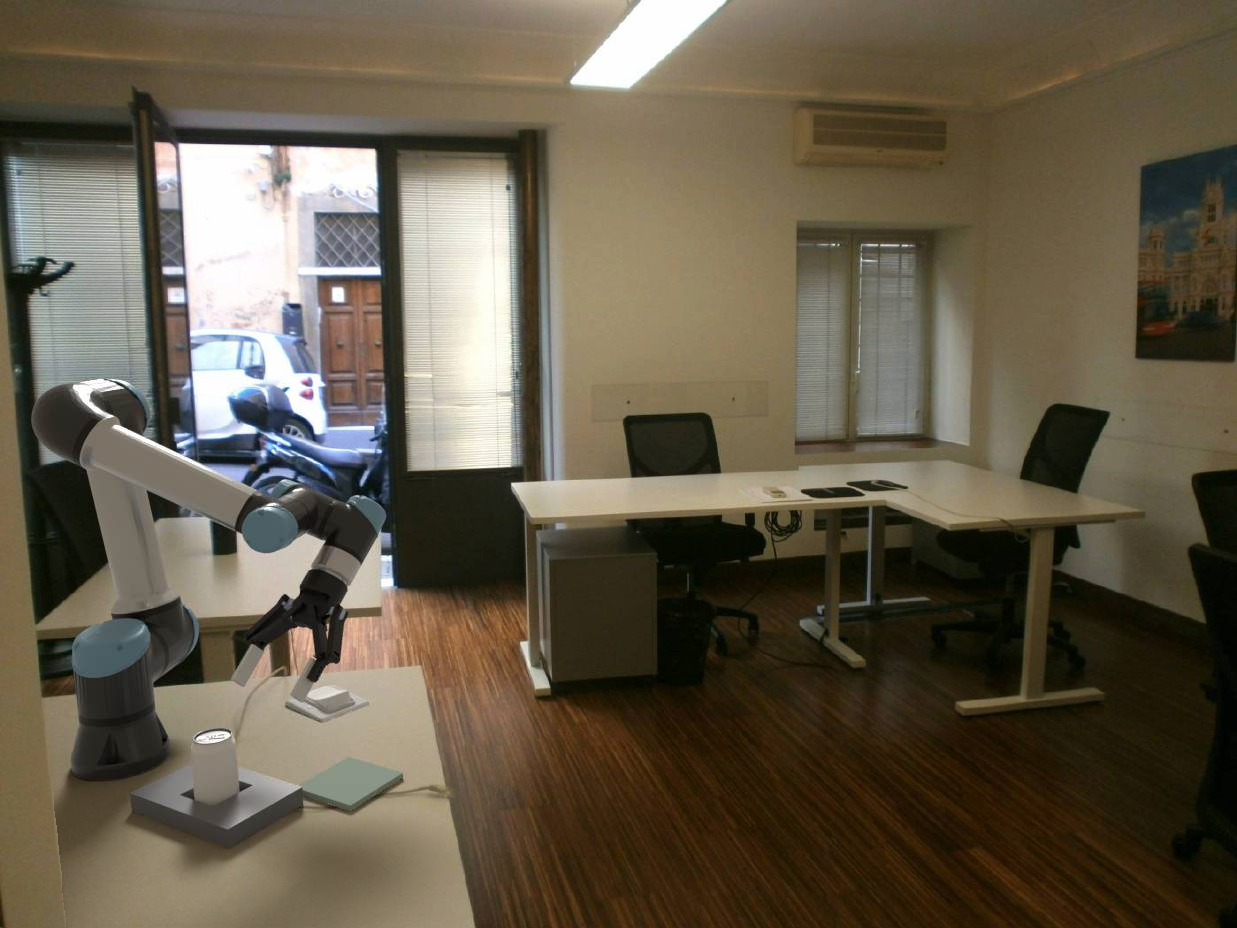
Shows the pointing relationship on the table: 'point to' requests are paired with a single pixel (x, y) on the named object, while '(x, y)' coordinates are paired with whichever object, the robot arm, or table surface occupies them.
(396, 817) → the table surface
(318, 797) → the mat
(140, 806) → the block
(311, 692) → the light switch
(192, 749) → the can
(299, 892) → the table surface
